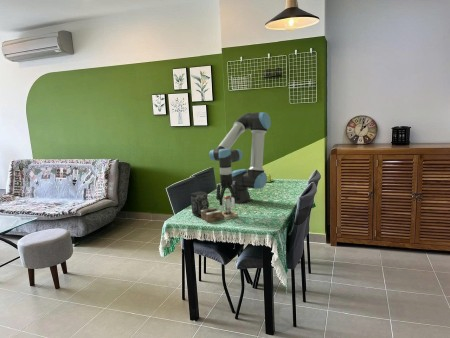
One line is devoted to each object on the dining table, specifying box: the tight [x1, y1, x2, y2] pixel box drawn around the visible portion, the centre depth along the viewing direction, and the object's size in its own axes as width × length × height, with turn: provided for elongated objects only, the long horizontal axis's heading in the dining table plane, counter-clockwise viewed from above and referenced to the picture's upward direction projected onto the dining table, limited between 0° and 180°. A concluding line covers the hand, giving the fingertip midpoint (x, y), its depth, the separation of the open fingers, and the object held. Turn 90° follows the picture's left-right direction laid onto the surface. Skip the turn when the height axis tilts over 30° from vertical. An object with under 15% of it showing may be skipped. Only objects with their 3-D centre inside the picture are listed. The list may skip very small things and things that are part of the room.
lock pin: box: [224, 195, 232, 215], centre depth 216 cm, size 4×4×13 cm
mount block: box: [222, 210, 239, 220], centre depth 217 cm, size 9×9×2 cm
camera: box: [190, 191, 210, 217], centre depth 222 cm, size 10×10×15 cm
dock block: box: [200, 206, 223, 224], centre depth 213 cm, size 10×10×6 cm
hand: (228, 208), depth 216 cm, fingers open, 7 cm apart
